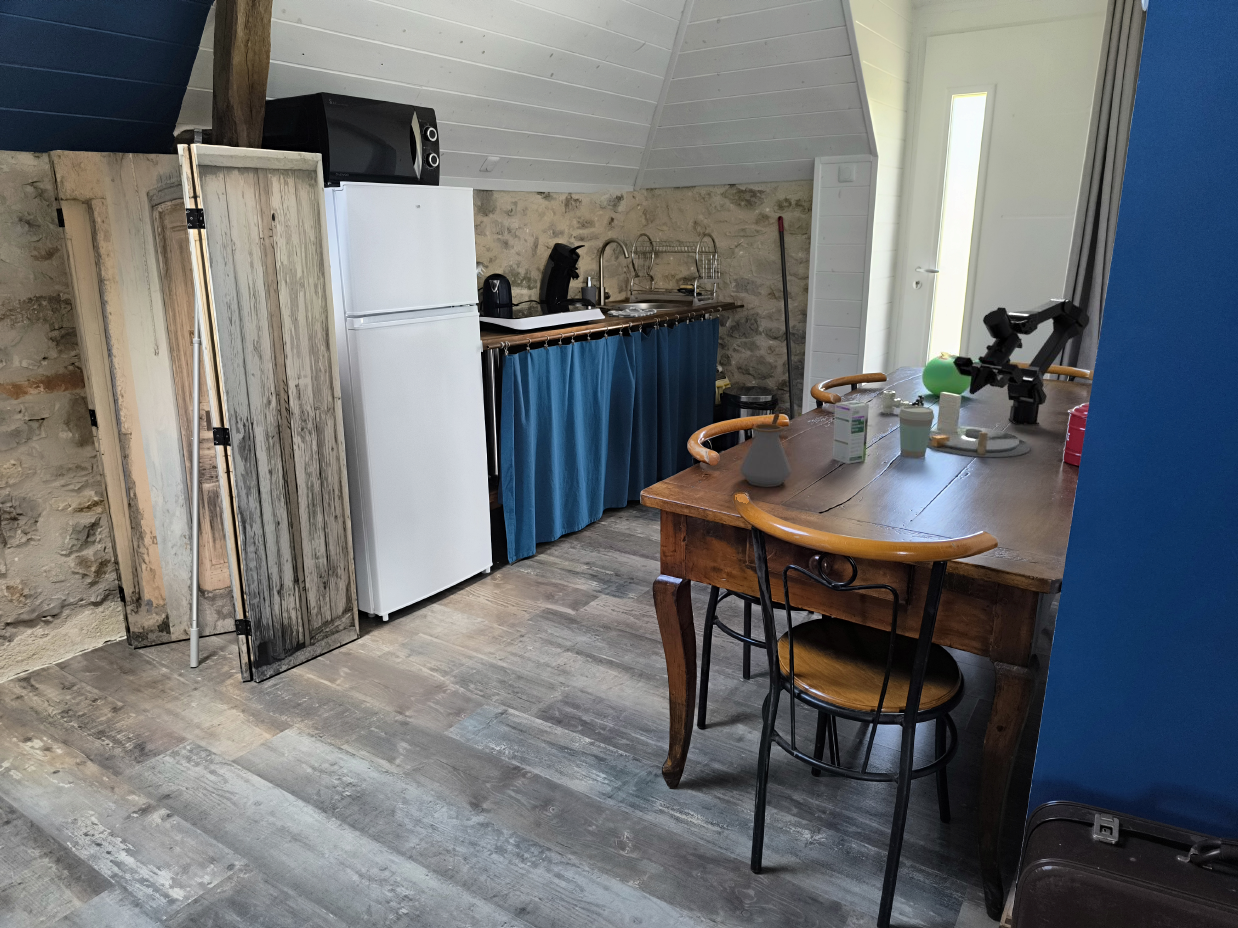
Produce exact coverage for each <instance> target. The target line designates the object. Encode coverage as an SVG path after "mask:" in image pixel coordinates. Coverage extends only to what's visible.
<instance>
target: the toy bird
mask: <svg viewBox="0 0 1238 928" xmlns="http://www.w3.org/2000/svg"><path fill="white" fill-rule="evenodd" d="M940 354H941V355H939V356H935V357H934V358H932V359H930V360H929V362H928V363H926V364H925V366H924V368H923V371H922V375H921V379H922V381H921V382H922V384H923V387H925V390H927V391H928V392H929V393H931V394H932V395H935V396H938V397H940V393H941V392H947V393H952V394H957V395H962V394H963V393H965V392H966V391H968V389H970V383H971V376H970V377H969V376H963V375H961V374H959V372H958V370H957V368H956V367H955V365H954V363H953V361H954V360H955V359H956V357H957V356H958V355H956V354H951V353H948V352H945V351H940ZM972 361H973V362H974V361H975V362H980V361H979V360H978V359H976V360H972Z"/></svg>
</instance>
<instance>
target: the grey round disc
mask: <svg viewBox="0 0 1238 928" xmlns="http://www.w3.org/2000/svg"><path fill="white" fill-rule="evenodd" d="M1018 439H1019V445H1018V447H1017V448H1015V449H1013V450H1008V451H1000V452H986V454H985V455H984V456H981V455H977V451H966V450H959V449H954V448H949V447H945V446H939V447H936V446H933V445H931V440H930V439H929V440H928V444H927V448H928V449H931V450H934V451H938V452H941V453H945V454H951V455H956V456H964V457H972V458H973V457H974V458H989V459H990V458H995V459H996V458H999V459H1000V458H1012V457H1018V456H1023V455H1026V454H1027V453H1029V452H1030V451H1031V446H1030V444H1029V443H1028V442H1026V441H1024V440H1022V439H1020V438H1018ZM1022 454H1023V455H1022Z"/></svg>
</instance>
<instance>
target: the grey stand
mask: <svg viewBox="0 0 1238 928" xmlns="http://www.w3.org/2000/svg"><path fill="white" fill-rule="evenodd" d="M961 403H962V394H960V395H957V394H952V393H947V392H941V393H940V396H939V403H938V412H937V423H936V428H934V429H931V431H930V435H929V439H930V440H931V445H933V446H936V447H939V446H945V447H949V448H954V449H959V450H966V451H977V448H978V440H979V432H987V433H988V438H987V446H986V452H1000V451H1008V450H1013V449H1015V448H1017V447H1018V445H1019V439H1020V438H1019V437H1017V436H1016V435H1015V434H1012V433H1009V432H1005V431H1002V430H997V429H993V428H987V427H977V426H963V425H962V426H961V425H959V422H960V421H959V420H960V413H961V412H960V410H961Z"/></svg>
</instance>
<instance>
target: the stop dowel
mask: <svg viewBox="0 0 1238 928" xmlns="http://www.w3.org/2000/svg"><path fill="white" fill-rule="evenodd" d="M987 438H988V433H987V432H979V440H978V448H977V455H981V456H984V455H985V454H986V446H987Z"/></svg>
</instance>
